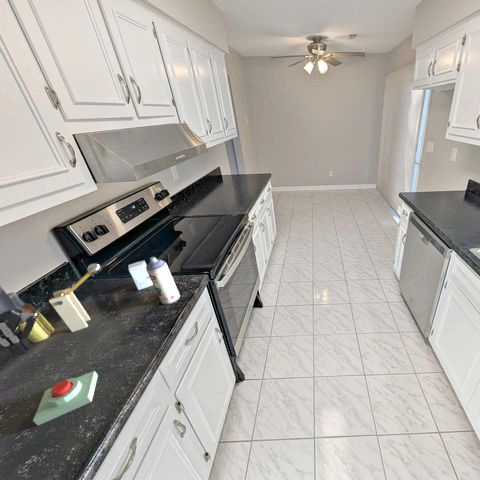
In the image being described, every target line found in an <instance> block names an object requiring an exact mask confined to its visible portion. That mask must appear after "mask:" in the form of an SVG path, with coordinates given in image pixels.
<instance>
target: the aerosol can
mask: <svg viewBox="0 0 480 480" xmlns="http://www.w3.org/2000/svg"><path fill="white" fill-rule="evenodd" d="M146 270H147V273H148V275H149V277H150V279H151V281H152V283H153V285H152V286H153V287H154V289H155V292H156V294H157V296H158V299H159V300H160V302H161V304H162V305H165V306H168V305H169V306H170V305H171V304H174V303H176V302H178V301H179V299H180V298H181V294H180V292H179V290H178V288H177V285H176V282H175V281H174V278H173V276H172V273H171V271H170V269H169V265H168V264H167V262H166V260H163V259H159V258H156V256H151V257H150V258H149V262H148V263H147V264H146Z"/></svg>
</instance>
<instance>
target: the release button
mask: <svg viewBox="0 0 480 480" xmlns="http://www.w3.org/2000/svg"><path fill="white" fill-rule="evenodd" d="M51 388H52V389H51V393H52V394H53V395H54V396H55V397H60V396H63V395H64V394H66V393H67V392H68V391H69V390H70V389H71V388H72V385H71V383H70V382H69V381H68V380H67V379H65V380H61V381H59V382H57V383H56V384H55V385H54V386H53V387H51Z"/></svg>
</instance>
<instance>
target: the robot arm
mask: <svg viewBox="0 0 480 480" xmlns="http://www.w3.org/2000/svg"><path fill="white" fill-rule="evenodd" d="M7 294H8V293H7V292H6V291H5V290H4V289H3V287H2V286H1V285H0V347H1V346H2V347H5V348H7V349H8V350H9V352H11V354H13V355H17V356H22V355H24V354H27V353H28V352H29V350H30V348H31V346H32V344H31V342H29V339H28V338H27V337H28V336H29V334H30V332H31V331H32V329H33V326H34V324H35V322H36V320H37V317H38V315H39V312H40V311H39V312H37V311H38V310H37V311H34V312H33V313H24V312H23V311H22V310H21V309H18V308H17V307H15V305H14V303H13V301H12V300H11V299H10V297H9V296H8V295H7ZM21 318H22V319H23V322H24V323H26V325H25V327H24V330H23V331H22V330H21V329H20V324H19V323H20V320H21Z"/></svg>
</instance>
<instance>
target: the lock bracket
mask: <svg viewBox="0 0 480 480" xmlns="http://www.w3.org/2000/svg"><path fill="white" fill-rule="evenodd" d="M70 288H71V287H68V288H64V289H61V290H58V291H55V292H53V293H52V295H53V297H52V298H50V299H49V300H48V302H49V303H50V305H51V306H52V308H53V309H54V310H55V311H56V313H57V314H58V316H60V318H61V320H62V321H63V322H64V323H65V325H66V326H67V328H68V329H69V330H70V331H71V332H72V333H74V332H77V331H80V330H83V329H86V328H88V326H89V325H88V323H87V322H88V321H91V317H90V316H89V314H88V312H87V311H86V309H84V306H83V305H82V304H81V301H79V299H78V297H76V295H75V294H74V291H73V292H72V293H71V294H69V295H70V297H68V296H67V294H66V295H63V296H59V295H60V294H61V293H62V292H64V293H66V292H67V291H68V290H69V289H70ZM58 296H59V297H58Z"/></svg>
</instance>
